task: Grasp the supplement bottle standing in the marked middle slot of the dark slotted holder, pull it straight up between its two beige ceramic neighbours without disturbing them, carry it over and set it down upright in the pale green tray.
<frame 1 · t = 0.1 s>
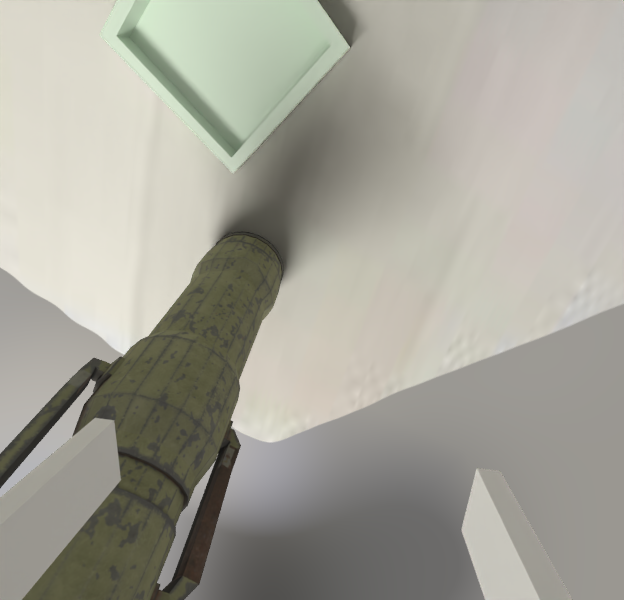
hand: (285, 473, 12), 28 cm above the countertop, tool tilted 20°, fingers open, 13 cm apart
tray: (231, 42, 28), on the countertop
thermos: (248, 265, 40), on the countertop
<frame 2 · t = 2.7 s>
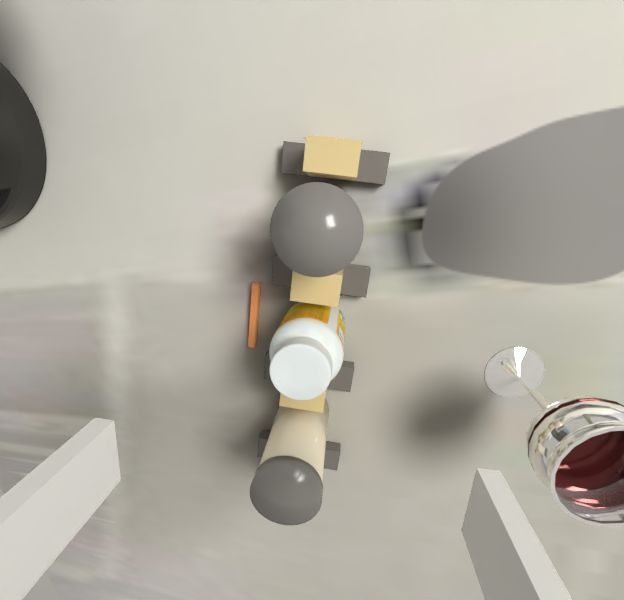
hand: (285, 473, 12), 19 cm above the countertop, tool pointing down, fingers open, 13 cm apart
wineglass: (513, 372, 30), on the countertop
fuse a: (304, 408, 33), on the countertop
supplement bottle: (315, 321, 31), on the countertop
fuse b: (327, 221, 28), on the countertop
fuse block: (315, 322, 31), on the countertop
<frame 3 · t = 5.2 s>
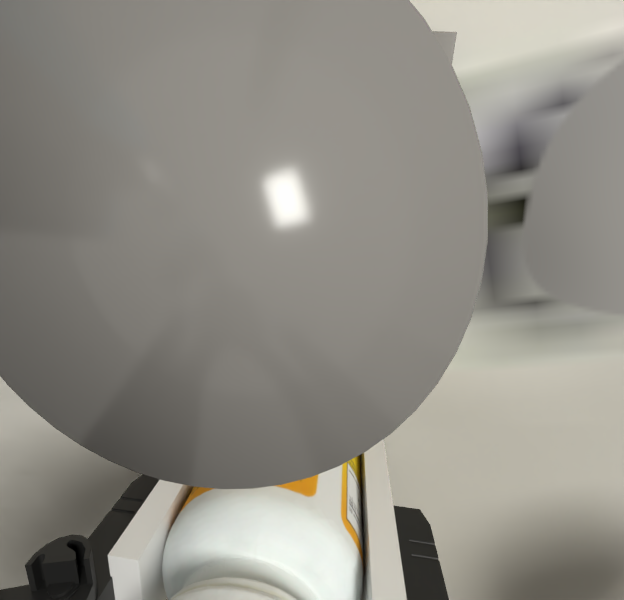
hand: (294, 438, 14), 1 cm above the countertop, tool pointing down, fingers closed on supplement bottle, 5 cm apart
supplement bottle: (298, 416, 16), on the countertop, touching gripper
fuse b: (311, 215, 13), on the countertop
fuse block: (298, 419, 15), on the countertop
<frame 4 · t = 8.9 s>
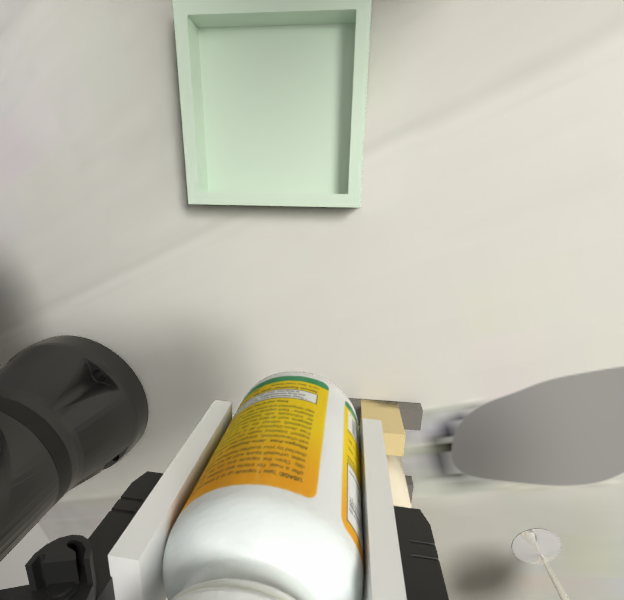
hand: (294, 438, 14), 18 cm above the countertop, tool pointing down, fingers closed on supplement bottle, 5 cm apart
wineglass: (535, 544, 37), on the countertop
tray: (277, 116, 28), on the countertop
supplement bottle: (299, 417, 16), point 17 cm above the countertop, touching gripper
fuse b: (375, 446, 35), on the countertop
fuse block: (369, 514, 38), on the countertop
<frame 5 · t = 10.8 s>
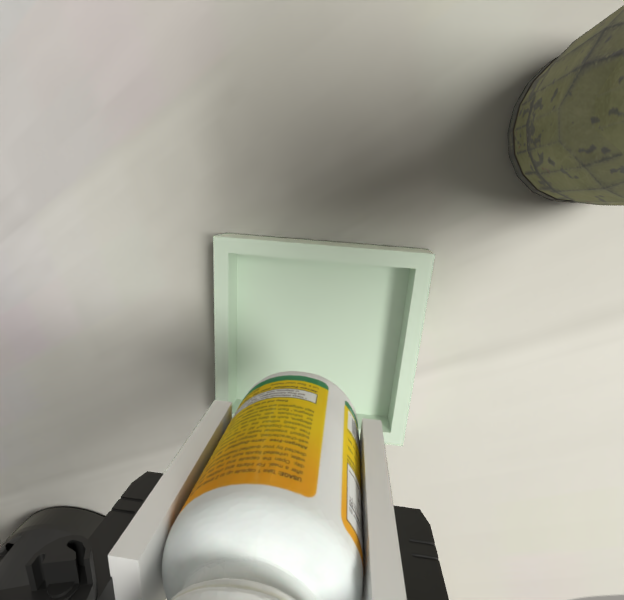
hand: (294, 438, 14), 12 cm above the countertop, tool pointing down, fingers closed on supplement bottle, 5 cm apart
tray: (316, 334, 26), on the countertop
supplement bottle: (298, 416, 16), point 10 cm above the countertop, touching gripper
thermos: (582, 126, 20), on the countertop
when the fingers open (3 cm above the countertop, at t = 12.6 s): supplement bottle drops 1 cm, resting on tray.
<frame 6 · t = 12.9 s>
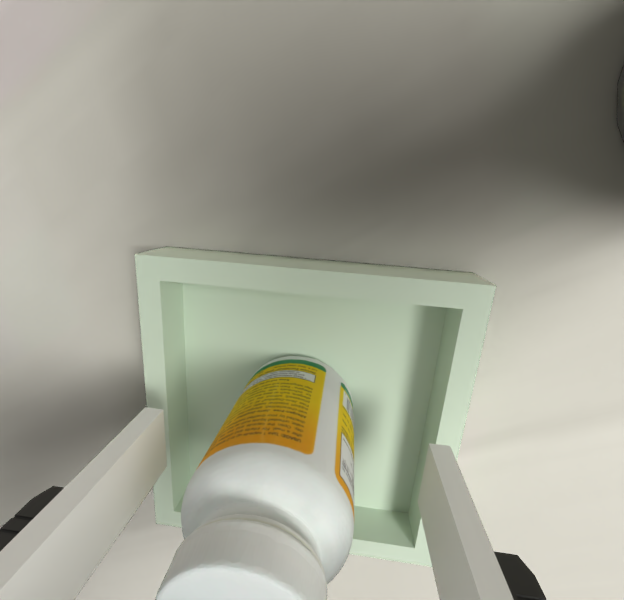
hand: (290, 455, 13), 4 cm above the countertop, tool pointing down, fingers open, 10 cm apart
tray: (304, 394, 17), on the countertop
supplement bottle: (299, 398, 17), resting on tray
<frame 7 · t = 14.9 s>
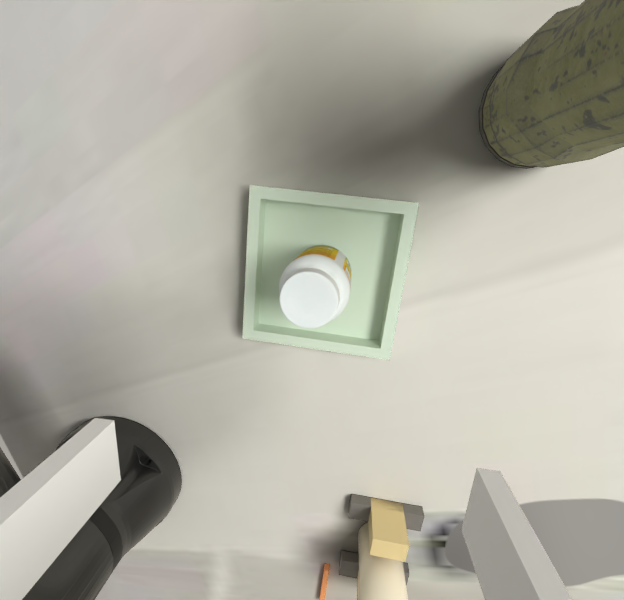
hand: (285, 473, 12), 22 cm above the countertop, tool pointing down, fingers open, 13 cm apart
tray: (325, 271, 32), on the countertop
supplement bottle: (322, 271, 32), resting on tray
fuse b: (378, 536, 40), on the countertop
fuse block: (367, 589, 43), on the countertop
thermos: (535, 108, 27), on the countertop
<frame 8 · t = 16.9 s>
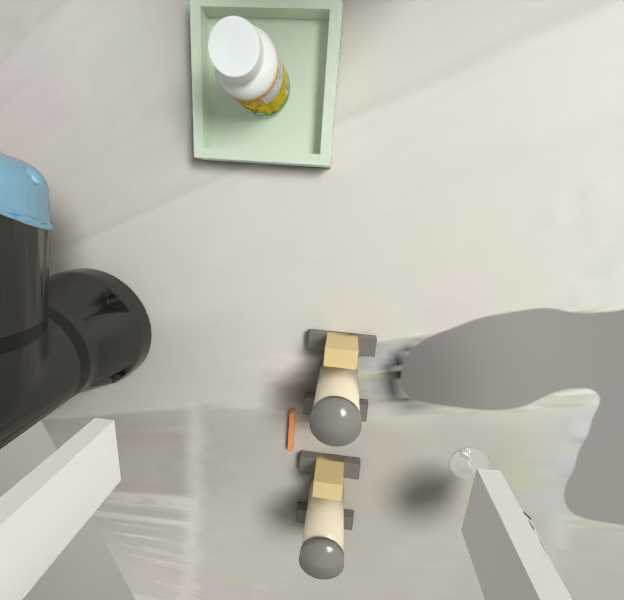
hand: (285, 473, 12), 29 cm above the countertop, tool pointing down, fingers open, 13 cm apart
wineglass: (468, 463, 44), on the countertop
tray: (268, 91, 35), on the countertop
fuse a: (327, 487, 48), on the countertop
supplement bottle: (265, 90, 34), resting on tray
fuse b: (338, 372, 43), on the countertop
fuse block: (332, 433, 45), on the countertop
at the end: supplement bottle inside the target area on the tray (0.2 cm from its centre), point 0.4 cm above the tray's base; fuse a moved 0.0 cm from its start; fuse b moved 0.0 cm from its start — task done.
